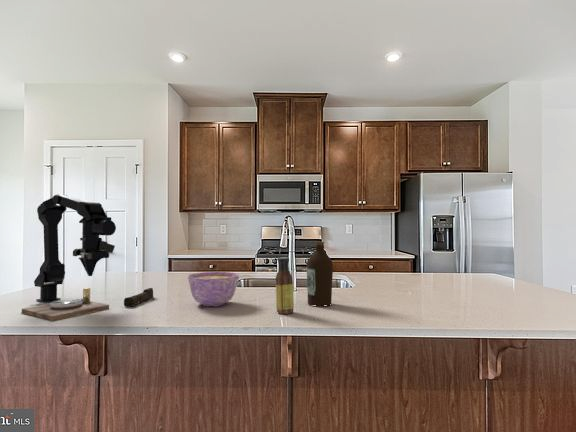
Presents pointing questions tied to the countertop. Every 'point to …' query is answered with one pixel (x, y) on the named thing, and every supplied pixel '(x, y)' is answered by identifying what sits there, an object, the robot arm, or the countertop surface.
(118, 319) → the countertop surface
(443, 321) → the countertop surface
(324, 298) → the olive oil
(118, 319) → the countertop surface
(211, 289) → the bowl of food
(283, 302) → the sauce bottle
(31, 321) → the countertop surface
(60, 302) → the dial
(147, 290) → the hand tool
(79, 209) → the robot arm
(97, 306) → the dial panel
